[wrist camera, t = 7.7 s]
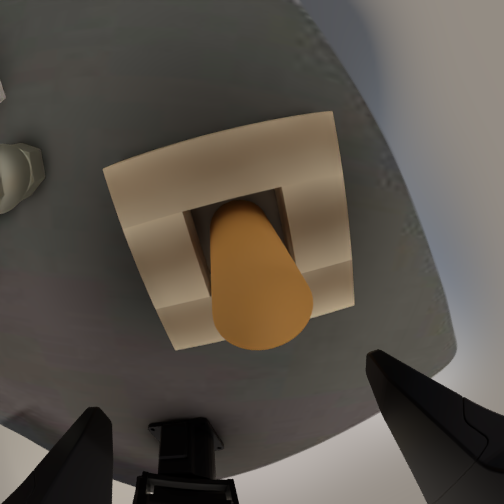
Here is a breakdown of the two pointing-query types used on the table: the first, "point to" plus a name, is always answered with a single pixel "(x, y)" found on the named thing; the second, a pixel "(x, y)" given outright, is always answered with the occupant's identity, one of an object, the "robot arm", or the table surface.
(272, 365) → the table surface
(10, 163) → the valve
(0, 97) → the corner bracket
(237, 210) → the peg
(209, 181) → the socket block
